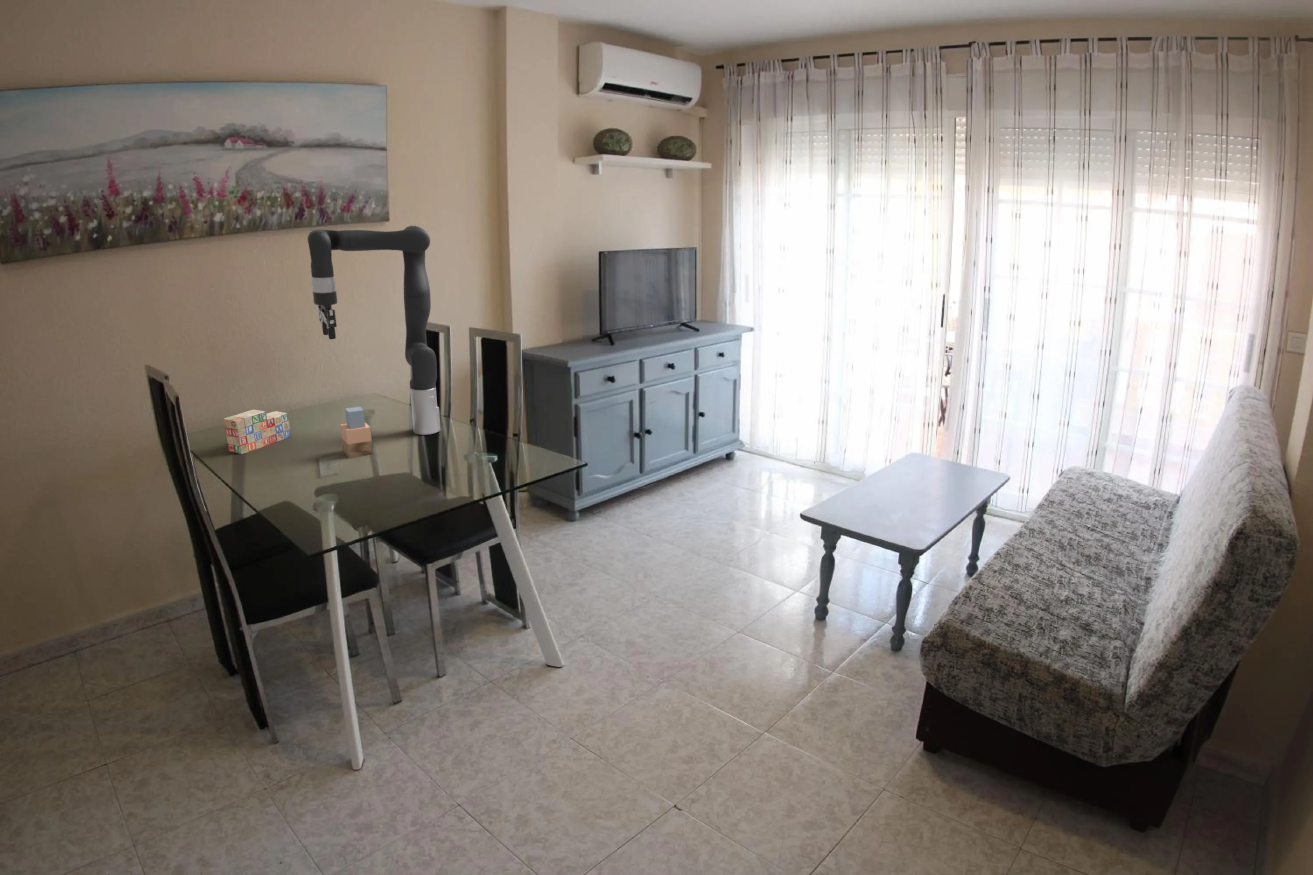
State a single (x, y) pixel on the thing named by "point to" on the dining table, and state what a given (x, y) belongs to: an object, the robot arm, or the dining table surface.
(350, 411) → the slate block
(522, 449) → the dining table surface
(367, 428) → the tower top
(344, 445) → the tower base
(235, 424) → the stack of blocks
